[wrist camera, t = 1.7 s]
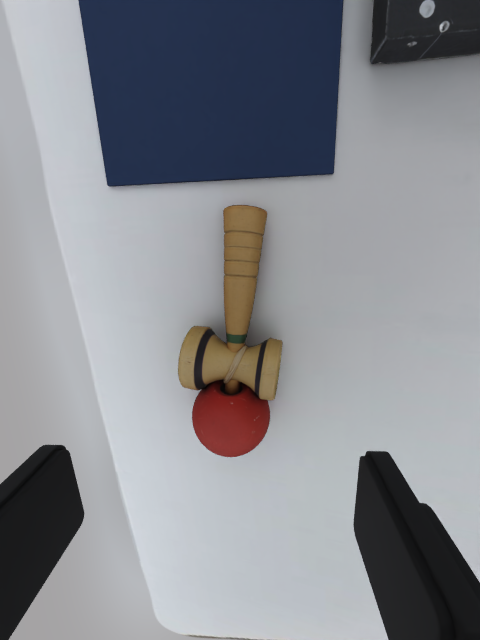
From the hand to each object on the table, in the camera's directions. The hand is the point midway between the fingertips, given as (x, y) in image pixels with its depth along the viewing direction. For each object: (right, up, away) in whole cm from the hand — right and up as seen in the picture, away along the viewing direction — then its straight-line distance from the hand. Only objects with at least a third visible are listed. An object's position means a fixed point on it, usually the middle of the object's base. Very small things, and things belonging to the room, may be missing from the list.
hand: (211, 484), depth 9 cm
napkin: (-1, +25, +8) cm, 26 cm away
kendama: (+1, +5, +14) cm, 15 cm away
